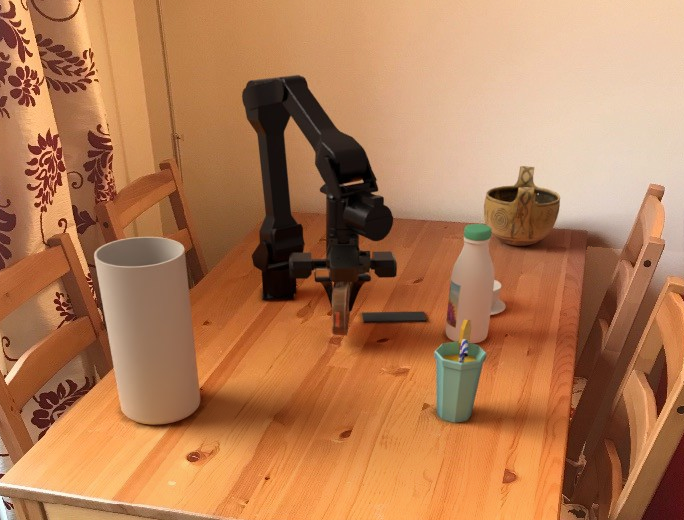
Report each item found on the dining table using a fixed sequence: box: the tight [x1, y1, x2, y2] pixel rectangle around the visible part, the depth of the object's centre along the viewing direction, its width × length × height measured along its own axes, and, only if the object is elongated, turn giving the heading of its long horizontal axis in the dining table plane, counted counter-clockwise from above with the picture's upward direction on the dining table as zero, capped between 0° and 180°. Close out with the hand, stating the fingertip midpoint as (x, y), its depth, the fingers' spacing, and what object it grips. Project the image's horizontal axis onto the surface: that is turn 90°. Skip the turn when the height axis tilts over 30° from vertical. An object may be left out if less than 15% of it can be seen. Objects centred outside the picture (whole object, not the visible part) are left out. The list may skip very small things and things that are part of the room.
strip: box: [361, 311, 427, 324], centre depth 153 cm, size 12×4×1 cm, turn 92°
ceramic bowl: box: [483, 165, 561, 247], centre depth 184 cm, size 22×17×15 cm
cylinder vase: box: [93, 236, 201, 426], centre depth 119 cm, size 12×12×25 cm
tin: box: [331, 281, 351, 336], centre depth 144 cm, size 15×3×8 cm, turn 175°
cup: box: [433, 320, 488, 424], centre depth 119 cm, size 14×8×15 cm, turn 174°
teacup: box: [490, 279, 507, 316], centre depth 156 cm, size 10×10×5 cm
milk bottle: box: [445, 223, 495, 344], centre depth 141 cm, size 8×8×20 cm
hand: (341, 310), depth 145 cm, fingers closed on tin, 3 cm apart
